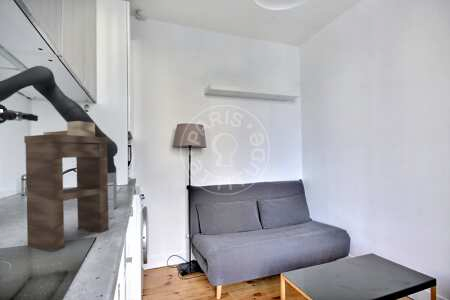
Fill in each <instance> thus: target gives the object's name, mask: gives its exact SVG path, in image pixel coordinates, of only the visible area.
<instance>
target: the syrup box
mask: <svg viewBox="0 0 450 300" xmlns="http://www.w3.org/2000/svg"><path fill="white" fill-rule="evenodd" d="M114 210H115V209H114V199H113V183H108V220H110V219H113V218H114V217H115V216H114V215H115V214H114V213H115V212H114Z"/></svg>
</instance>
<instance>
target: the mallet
mask: <svg viewBox="0 0 450 300" xmlns="http://www.w3.org/2000/svg"><path fill="white" fill-rule="evenodd" d="M95 123H96V122H95ZM95 123H90V122H82V121H73V122H66V130H58V131H57V130H56V131H45V132H43V134H42V135H48V134H57V135H74V136H92V137H95Z"/></svg>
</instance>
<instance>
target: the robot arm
mask: <svg viewBox="0 0 450 300" xmlns="http://www.w3.org/2000/svg"><path fill="white" fill-rule="evenodd" d="M31 86H32V87H33V88H34V90H36V91H37V92H38V93H39V94H40V95H42V97H44V98H45V99H46V100H47V101H48V102H49V103H50V104H51V105H52V106H53V108H54V109H55V111H56V112H57V113H58V114H59V115H60V116H61V117H62V118H63V119H64V121H65V122H66V123H67V122H73V121H82V122H90V123H95V137H108V143H107V178H108V183H113V199H114V210H115V209H117V208H118V194H117V193H118V188H117V187H118V186H117V183H118V182H117V180H118V179H117V166H116V165H115V158H114V157H115V156H116V155H117V154H118V150H119V149H118V145H117V143H116V142H115V141H114V140H113V139H111V138H110V137H109V136H108V135H107V134H106V133H104V131H102V129H100V127H99V126H98V125H97V124H96V122H95V121H94V120H93V119H92V117H91V116H90V115H89V114H88V113H87V112H86V111H85V110H84V108H83V107H82V106H81V105H80V104H79V103H78V102H76V101H75V100H73V99H72V98H70V97H68V96H67V95H66V94H65V93H64V91H62V90H61V88H60V87H59V86H58V84H57V83H56V79H55V76H54V73H53V71H52V69H50V68H49V67H46V66H44V65H36V66H32V67H29V68H27V69H25V70H24V71H21V72H19V73H17V74H14V75H12V76H10V77H7V78H5V79H3V80H1V81H0V124H1V125H2V124H4V123H5V122H6V121H8V122H9V121H10V122H11V121H16V122H17V121H18V122H22V121H27V122H28V121H33V122H38V121H39V116H38V114H34V113H27V112H26V113H25V112H23V111H17V110H12V109H8V108H7V107H6V106H5V105H3V104H1V102H3V101H5V100H7V99H9V98H10V97H12V96H13V95H14V94H16V93H17V92H18V91H21V90H22V89H25V88H27V87H31Z"/></svg>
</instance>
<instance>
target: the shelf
mask: <svg viewBox="0 0 450 300" xmlns="http://www.w3.org/2000/svg"><path fill="white" fill-rule="evenodd" d="M108 137H109V136H108ZM108 137H92V136H74V135H57V134H48V135H44V134H36V135H25V136H24V137H23V139H24V140H23V141H24V144H25V176H26V180H25V181H26V182H25V186H26V227H27V228H26V229H27V248H32V249H35V250H41V251H46V252H51V253H55V252H56V251H59V250H62V249H64V248H65V224H64V223H65V217H64V214H65V213H64V212H65V211H64V202H65V201H70V200H74V199H75V200H77V201H76V202H77V204H76V205H77V230H80V231H88V232H93V233H99V234H101V233H104V232H106V231H109V230H110V228H109V219H108V178H107V143H108ZM66 158H67V159H68V158H76V159H75V160H76V187H70V188H64V179H63V178H64V177H63V176H64V175H63V172H64V171H63V170H64V169H63V163H64V162H63V159H66Z"/></svg>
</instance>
